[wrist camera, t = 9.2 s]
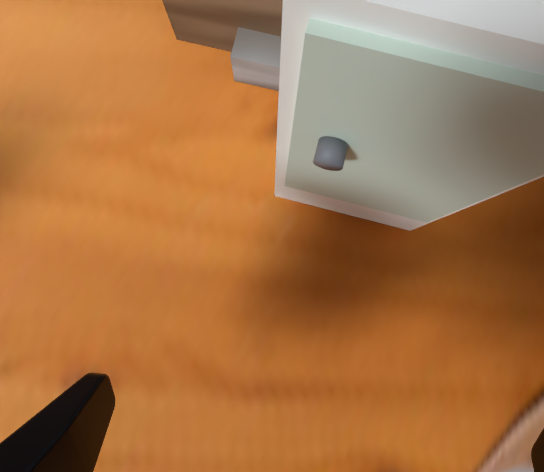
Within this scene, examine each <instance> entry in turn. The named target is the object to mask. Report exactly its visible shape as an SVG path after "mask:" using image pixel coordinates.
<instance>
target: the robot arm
mask: <svg viewBox="0 0 544 472" xmlns="http://www.w3.org/2000/svg"><path fill="white" fill-rule="evenodd" d="M114 407H115V395H114V392H113V389H112V385H111V382H110V379H109V377H108V376H107V375H106V374H100V373H88V374H86V375H85V376H83V377H82V378H81V379H80V380H78V381H77V382H76V383H75V384H73V385H72V386H71V387H70V388H68V389H67V390H66V391H65V392H63V393H62V394H61V395H60V396H58V397H57V398H56V399H55V400H53V401H52V402H51V403H50V404H48V405H47V406H46V407H45V408H44V409H42V410H41V411H40V412H39V413H37V414H36V415H35V416H34V417H32V418H31V419H30V420H29V421H27V422H26V423H25V424H24V425H22V426H21V427H20V428H19V429H17V430H16V431H15V432H14V433H12V434H11V435H10V436H9V437H7V438H6V439H5V440H4V441H3V442H1V443H0V472H93V471H94V468H95V465H96V462H97V459H98V456H99V453H100V450H101V447H102V444H103V441H104V438H105V435H106V432H107V429H108V426H109V423H110V420H111V417H112V414H113V410H114ZM531 458H532V463H533V468H534V472H544V429H543V430H542V432H541V434H540V435H539V437H538V439H537V440H536V442H535V444H534V445H533V447H532V451H531Z"/></svg>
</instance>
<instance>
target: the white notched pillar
mask: <svg viewBox="0 0 544 472" xmlns="http://www.w3.org/2000/svg"><path fill="white" fill-rule="evenodd" d="M542 177H544V0H283V6H282V29H281V53H280V77H279V101H278V125H277V148H276V172H275V196H277V197H281V198H285V199H289V200H293V201H296V202H300V203H304V204H308V205H312V206H316V207H320V208H324V209H327V210H331V211H335V212H339V213H343V214H347V215H351V216H355V217H358V218H362V219H366V220H370V221H374V222H378V223H382V224H386V225H389V226H393V227H397V228H401V229H405V230H409V231H411V230H413V229H416V228H418V227H421V226H423V225H426V224H428V223H431V222H433V221H436V220H438V219H441V218H443V217H446V216H448V215H450V214H453V213H455V212H458V211H460V210H463V209H465V208H468V207H470V206H473V205H475V204H478V203H480V202H483V201H485V200H487V199H490V198H492V197H495V196H497V195H500V194H502V193H505V192H507V191H510V190H512V189H515V188H517V187H520V186H522V185H524V184H527V183H529V182H532V181H534V180H537V179H539V178H542Z"/></svg>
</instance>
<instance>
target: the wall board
mask: <svg viewBox="0 0 544 472" xmlns="http://www.w3.org/2000/svg"><path fill="white" fill-rule="evenodd" d="M162 1H163V4H164V6H165V9H166V12H167V14H168V17H169V19H170V22H171V25H172V27H173V30H174V33H175V35H176V38H177V39H178V40H182V41H187V42H191V43H195V44H200V45H204V46H209V47H213V48H217V49H222V50H226V51H231V56H230V57H231V63H232V69H233V75H234V81H238V82H242V83H247V84H251V85H255V86H260V87H264V88H268V89H273V90H277V91H279V77H280V53H281V29H282V6H283V0H162Z"/></svg>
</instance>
